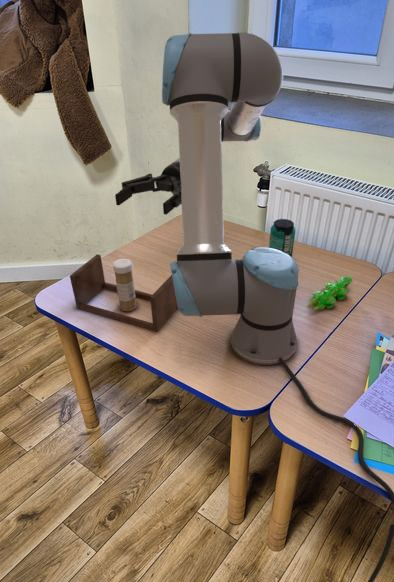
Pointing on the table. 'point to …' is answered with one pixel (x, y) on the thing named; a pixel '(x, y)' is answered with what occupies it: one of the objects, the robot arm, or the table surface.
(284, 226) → the green supplement bottle
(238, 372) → the table surface
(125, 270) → the sprinkles bottle
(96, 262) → the bottle rack
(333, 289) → the green long bumpy piece
